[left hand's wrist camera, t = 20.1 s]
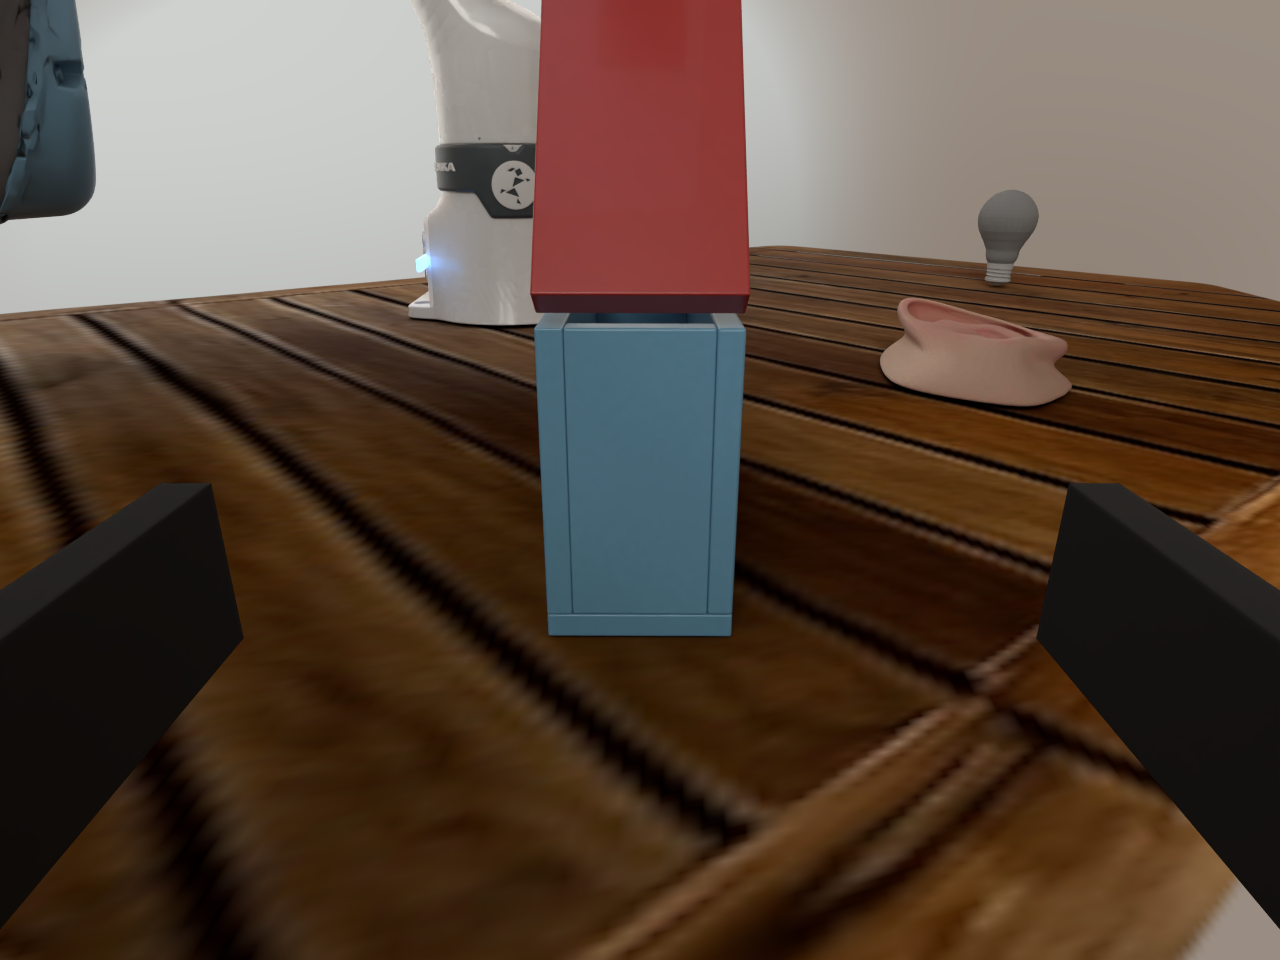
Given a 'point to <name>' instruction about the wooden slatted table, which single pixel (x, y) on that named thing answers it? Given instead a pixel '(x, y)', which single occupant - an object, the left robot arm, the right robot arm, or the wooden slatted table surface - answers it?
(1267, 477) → the wooden slatted table surface
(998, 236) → the light bulb
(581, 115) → the lid
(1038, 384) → the anatomical model
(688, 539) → the chest
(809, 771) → the wooden slatted table surface
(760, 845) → the wooden slatted table surface
